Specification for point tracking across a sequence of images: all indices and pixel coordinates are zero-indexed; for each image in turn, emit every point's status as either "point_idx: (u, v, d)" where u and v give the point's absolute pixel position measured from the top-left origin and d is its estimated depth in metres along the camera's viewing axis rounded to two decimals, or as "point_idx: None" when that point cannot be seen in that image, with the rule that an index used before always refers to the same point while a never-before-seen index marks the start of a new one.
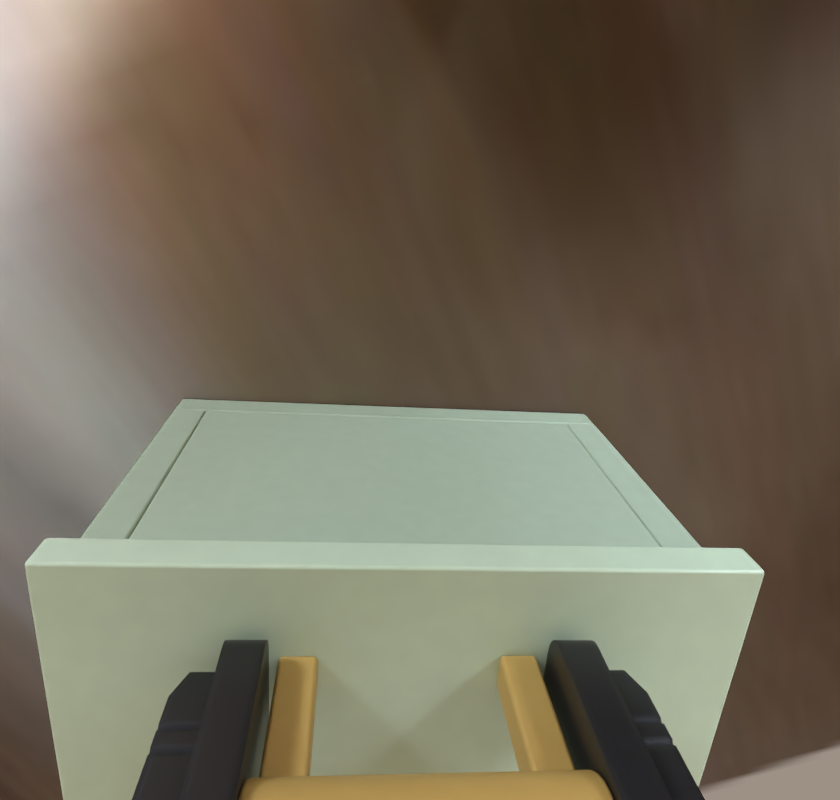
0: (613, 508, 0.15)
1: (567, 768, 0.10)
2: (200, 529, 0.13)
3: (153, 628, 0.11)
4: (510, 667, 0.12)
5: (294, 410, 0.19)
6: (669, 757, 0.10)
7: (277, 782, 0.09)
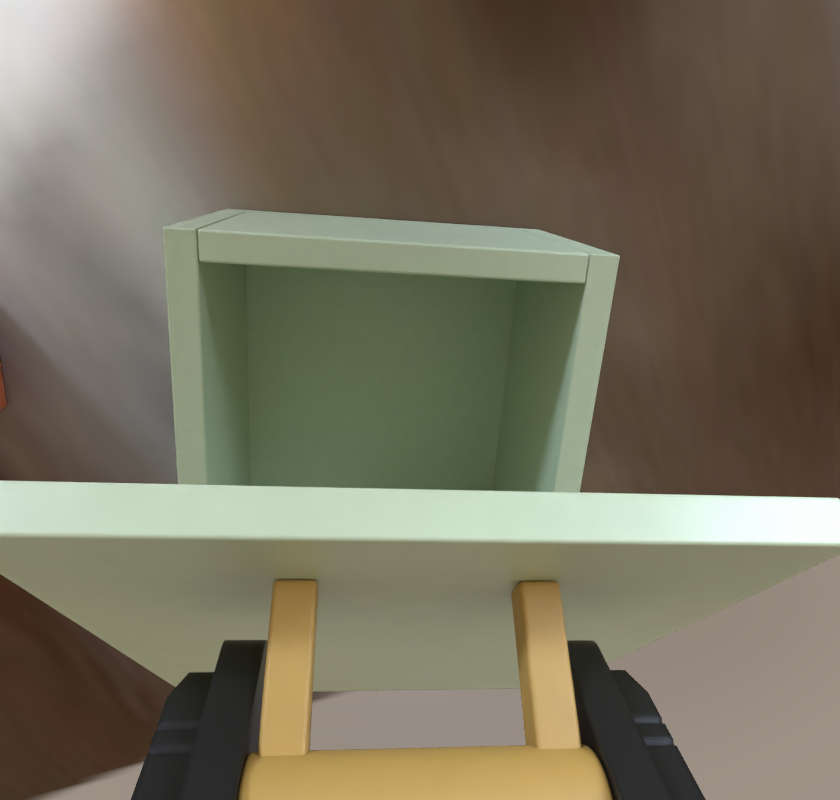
0: (547, 242, 0.21)
1: (573, 743, 0.09)
2: (254, 227, 0.19)
3: (124, 566, 0.09)
4: (529, 599, 0.10)
5: (312, 215, 0.25)
6: (670, 757, 0.10)
7: (275, 788, 0.08)
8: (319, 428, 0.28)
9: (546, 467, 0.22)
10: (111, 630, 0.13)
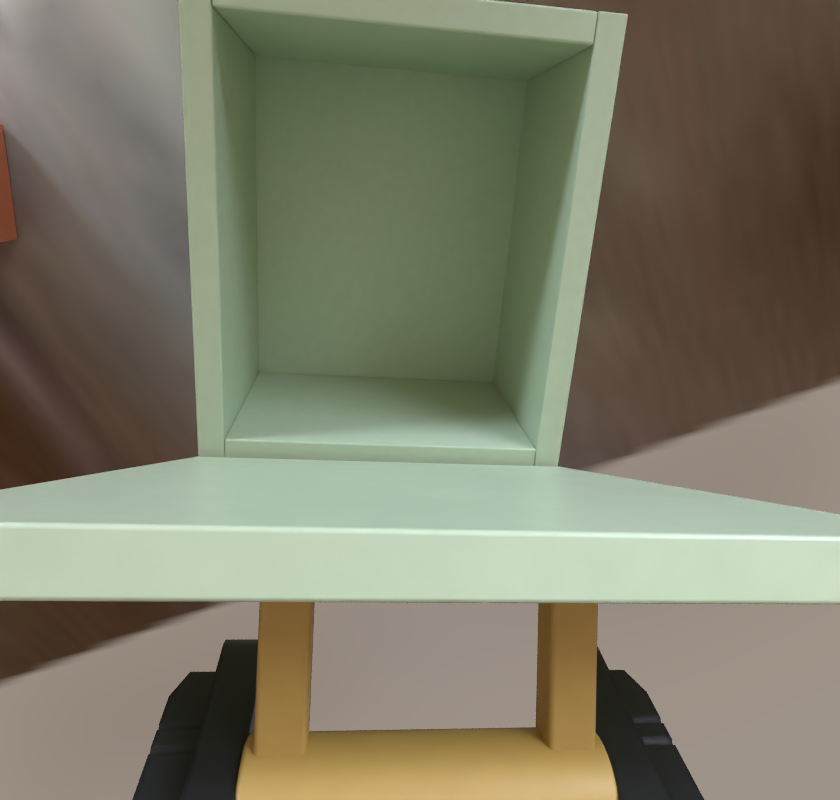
0: None
1: (587, 745, 0.09)
2: None
3: None
4: None
5: None
6: (668, 757, 0.10)
7: None
8: (327, 266, 0.28)
9: (553, 260, 0.22)
10: None
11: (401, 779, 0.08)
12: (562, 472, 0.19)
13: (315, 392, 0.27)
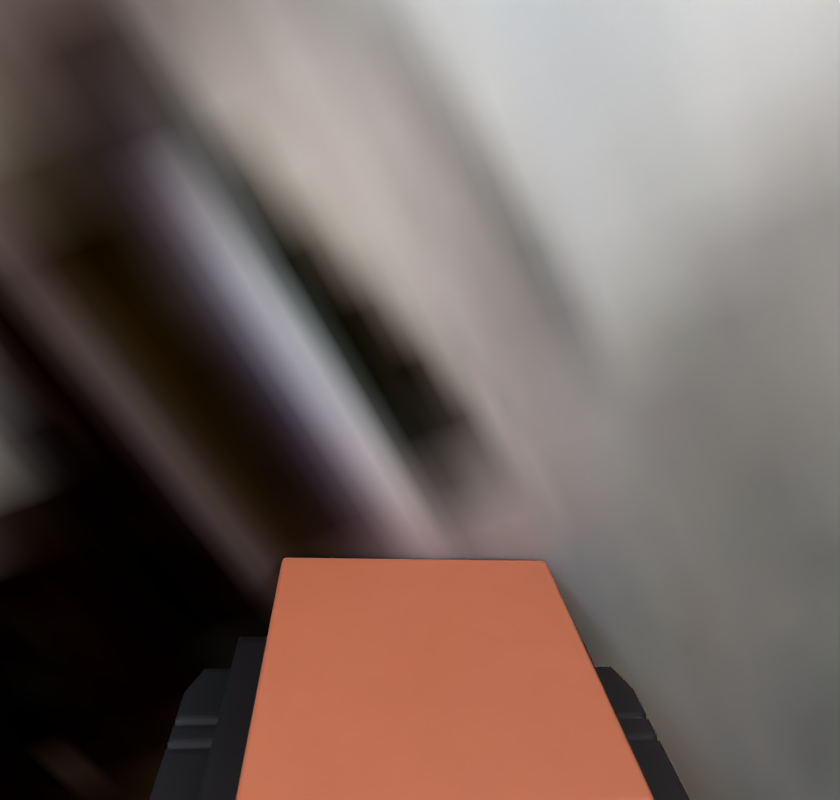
0: None
1: None
2: None
3: None
4: None
5: None
6: (653, 753, 0.10)
7: None
8: None
9: None
10: None
11: None
12: None
13: None
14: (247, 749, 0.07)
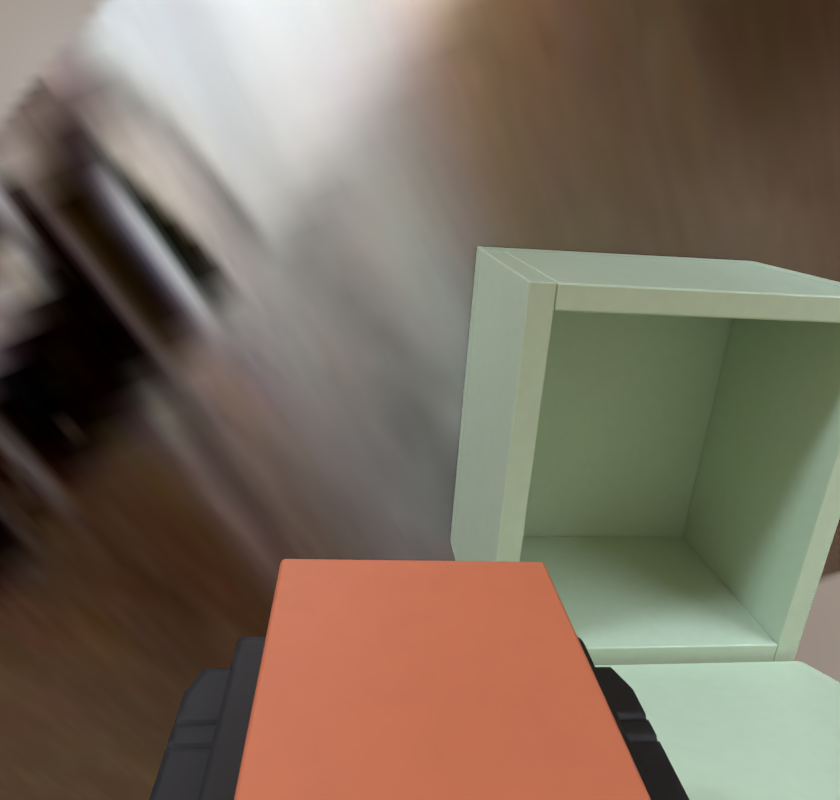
0: (815, 282, 0.23)
1: None
2: (583, 276, 0.21)
3: None
4: None
5: (558, 252, 0.28)
6: (653, 753, 0.10)
7: None
8: (543, 444, 0.30)
9: (804, 484, 0.24)
10: None
11: None
12: None
13: None
14: (245, 751, 0.07)
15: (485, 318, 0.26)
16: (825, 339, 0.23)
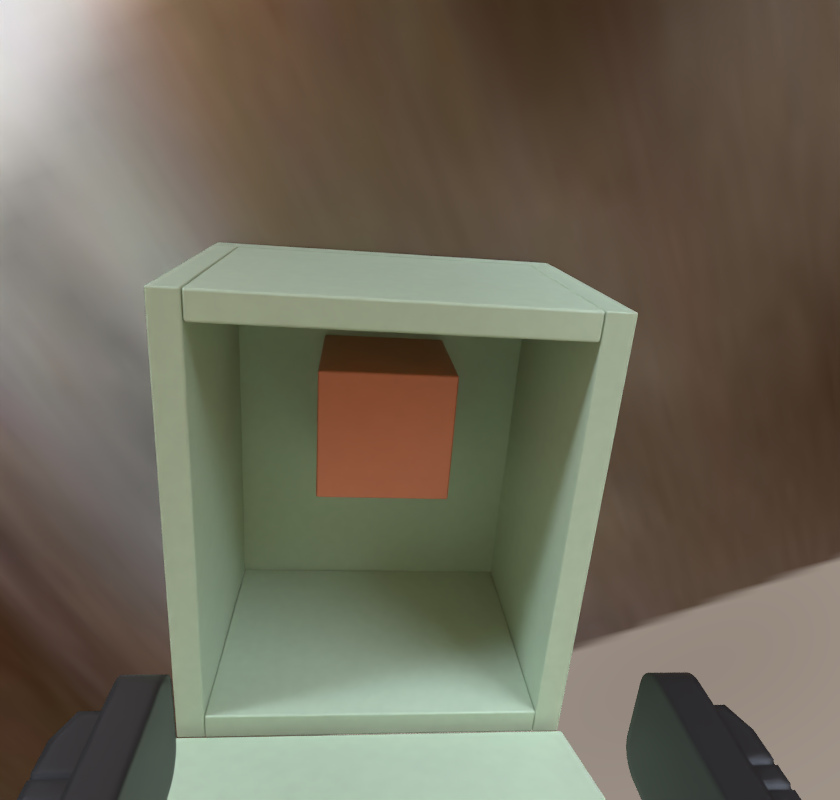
0: (559, 290, 0.20)
1: None
2: (245, 279, 0.17)
3: None
4: None
5: (308, 250, 0.24)
6: None
7: None
8: None
9: (554, 527, 0.21)
10: None
11: None
12: (563, 797, 0.18)
13: (303, 608, 0.26)
14: (320, 363, 0.21)
15: None
16: (571, 357, 0.20)
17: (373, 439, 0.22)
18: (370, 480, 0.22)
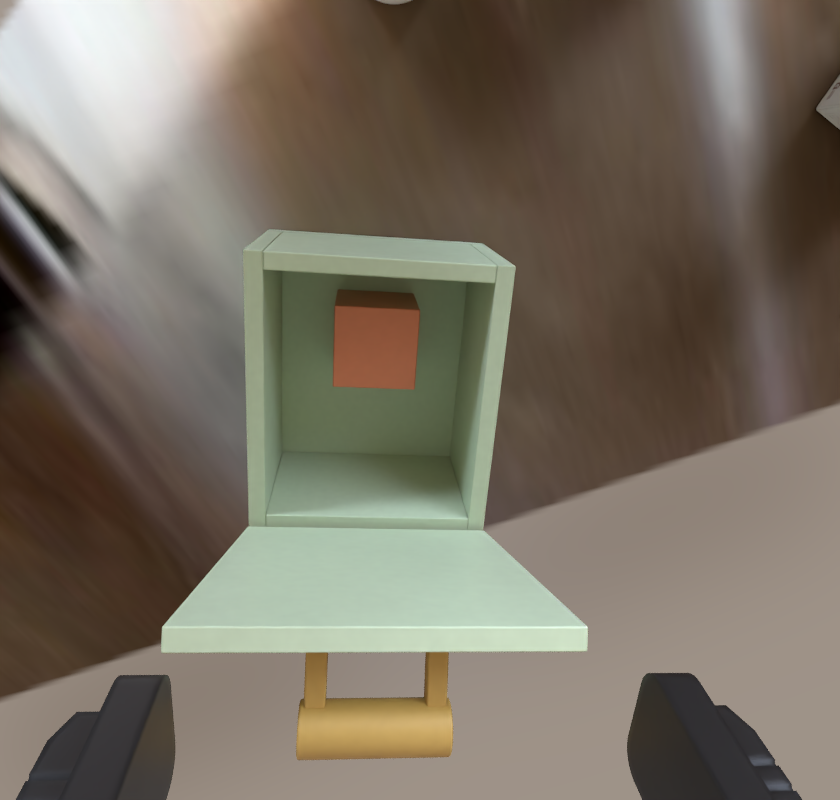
0: (477, 256, 0.33)
1: (442, 704, 0.21)
2: (295, 248, 0.31)
3: None
4: None
5: (327, 234, 0.37)
6: None
7: (312, 727, 0.20)
8: (330, 380, 0.40)
9: (477, 400, 0.34)
10: None
11: (363, 717, 0.21)
12: (475, 544, 0.32)
13: (322, 470, 0.40)
14: (335, 302, 0.35)
15: None
16: (485, 296, 0.33)
17: (368, 349, 0.35)
18: (366, 376, 0.36)
